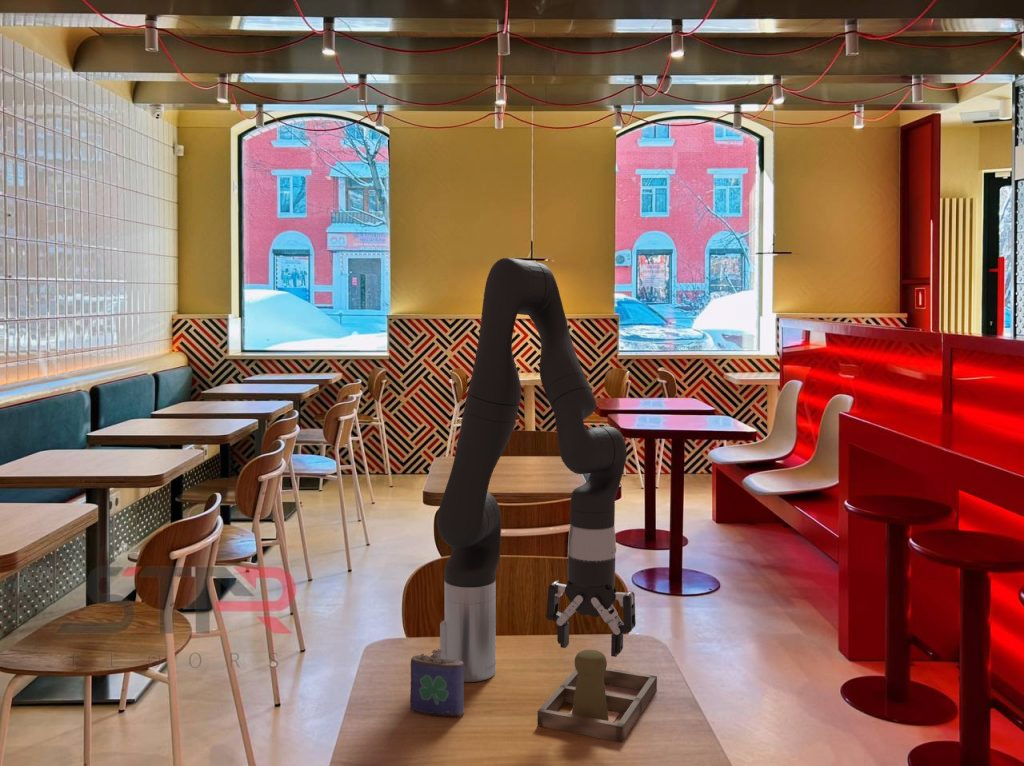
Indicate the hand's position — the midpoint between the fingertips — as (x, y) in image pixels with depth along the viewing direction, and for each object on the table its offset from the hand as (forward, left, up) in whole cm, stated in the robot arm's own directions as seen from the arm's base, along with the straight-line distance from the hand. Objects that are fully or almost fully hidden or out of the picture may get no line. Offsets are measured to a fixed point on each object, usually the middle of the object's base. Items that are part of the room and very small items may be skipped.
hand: (589, 650), depth 154 cm
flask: (-24, -7, -12) cm, 28 cm away
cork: (0, 0, -12) cm, 12 cm away
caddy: (0, +5, -12) cm, 13 cm away
